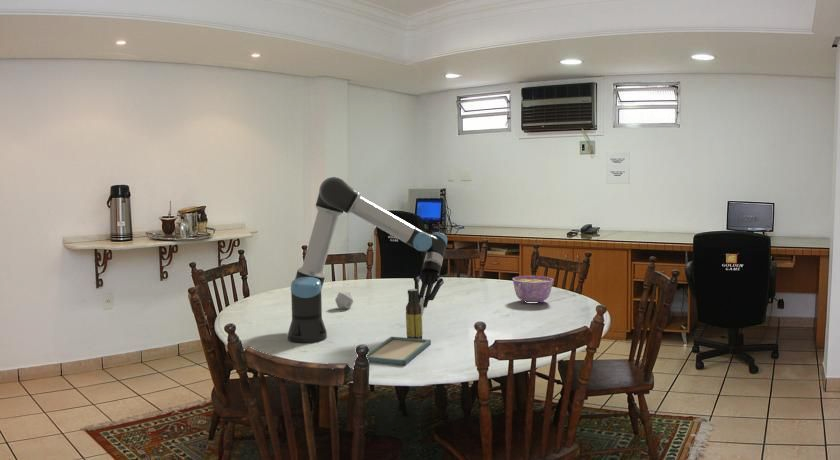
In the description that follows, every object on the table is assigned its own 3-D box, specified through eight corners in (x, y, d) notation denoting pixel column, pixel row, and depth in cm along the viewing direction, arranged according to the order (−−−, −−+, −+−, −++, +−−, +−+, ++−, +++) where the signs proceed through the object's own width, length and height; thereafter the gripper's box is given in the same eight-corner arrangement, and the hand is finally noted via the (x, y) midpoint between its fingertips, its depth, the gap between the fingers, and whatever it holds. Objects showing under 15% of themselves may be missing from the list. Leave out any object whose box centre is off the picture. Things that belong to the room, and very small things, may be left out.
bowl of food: (508, 304, 314) (508, 281, 313) (516, 297, 333) (516, 274, 332) (550, 307, 308) (550, 283, 307) (555, 299, 326) (555, 276, 325)
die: (345, 312, 303) (356, 295, 305) (330, 303, 304) (341, 286, 306) (347, 315, 311) (358, 298, 313) (332, 306, 312) (343, 289, 314)
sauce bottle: (422, 337, 255) (421, 287, 253) (423, 342, 248) (422, 291, 246) (405, 338, 254) (405, 288, 252) (406, 342, 248) (405, 291, 246)
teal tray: (391, 341, 250) (391, 336, 250) (430, 344, 245) (430, 339, 245) (361, 361, 224) (361, 356, 224) (404, 365, 219) (404, 360, 218)
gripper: (449, 271, 270) (437, 319, 255) (419, 270, 274) (406, 317, 260) (445, 260, 264) (433, 309, 250) (415, 259, 268) (401, 307, 254)
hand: (419, 313), depth 255 cm, fingers closed
